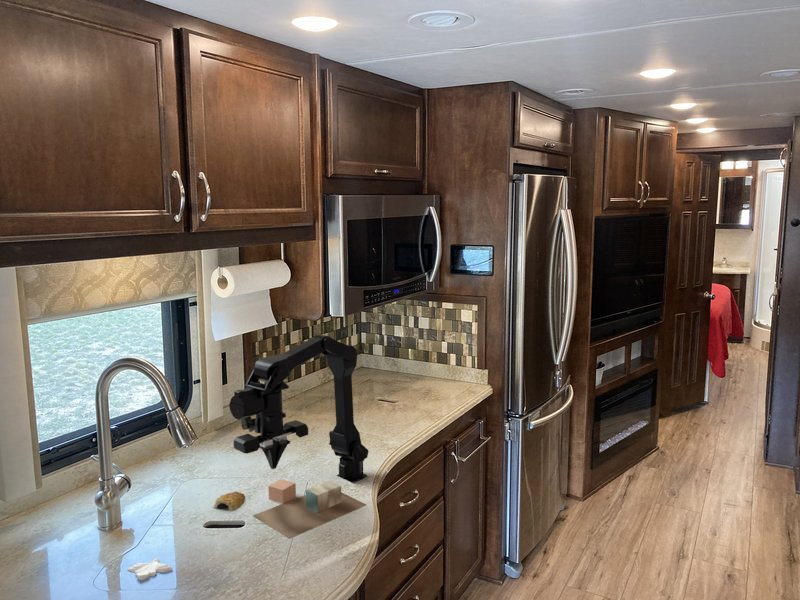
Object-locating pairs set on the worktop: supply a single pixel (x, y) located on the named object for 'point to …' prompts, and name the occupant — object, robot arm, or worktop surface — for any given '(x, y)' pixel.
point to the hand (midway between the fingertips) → (273, 468)
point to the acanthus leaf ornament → (149, 569)
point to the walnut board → (304, 515)
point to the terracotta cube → (282, 491)
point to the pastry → (229, 501)
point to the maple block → (323, 496)
